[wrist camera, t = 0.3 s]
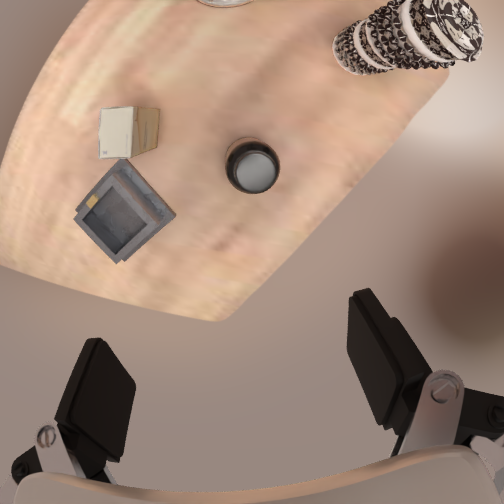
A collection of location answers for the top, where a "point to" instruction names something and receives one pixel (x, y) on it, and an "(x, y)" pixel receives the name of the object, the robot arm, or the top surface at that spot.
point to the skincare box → (127, 131)
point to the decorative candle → (410, 37)
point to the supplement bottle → (251, 165)
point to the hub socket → (122, 212)
